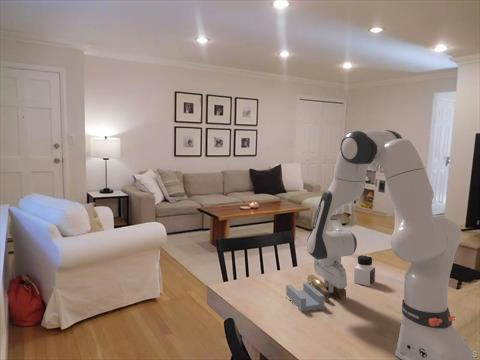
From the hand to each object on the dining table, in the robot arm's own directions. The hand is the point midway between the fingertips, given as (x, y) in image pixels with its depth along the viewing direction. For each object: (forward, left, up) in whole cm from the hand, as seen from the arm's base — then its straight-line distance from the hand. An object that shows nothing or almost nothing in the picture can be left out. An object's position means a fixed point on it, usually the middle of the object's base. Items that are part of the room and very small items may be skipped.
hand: (329, 290), depth 142 cm
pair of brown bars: (+1, 0, -2) cm, 2 cm away
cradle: (-3, +12, -2) cm, 13 cm away
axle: (+9, 0, 0) cm, 9 cm away
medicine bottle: (+9, -23, -2) cm, 24 cm away
